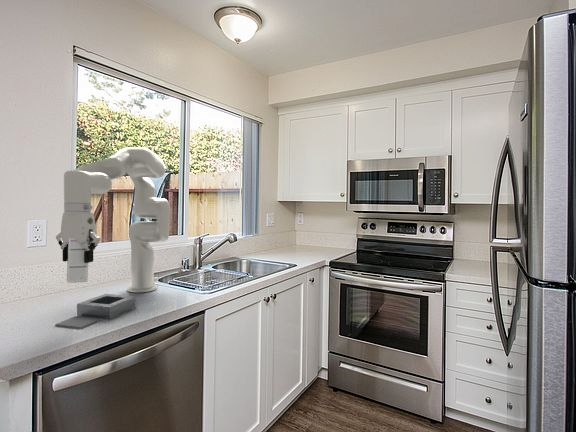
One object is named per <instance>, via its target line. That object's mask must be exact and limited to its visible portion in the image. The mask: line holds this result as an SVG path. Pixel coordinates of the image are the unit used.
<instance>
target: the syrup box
mask: <svg viewBox="0 0 576 432" xmlns="http://www.w3.org/2000/svg"><path fill="white" fill-rule="evenodd" d="M87 241H89V238H87ZM67 244H68V243H67ZM88 246H89V243H88ZM84 251H86V249H85V247H84V245H83V243H77V241H76V239H75V238H70V239H69V244H68V261H67V266H66V282H67V283H68V284H69V283H71V284H72V283H73V284H75V283H87V282H88V278H89V263H84Z"/></svg>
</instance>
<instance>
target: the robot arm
mask: <svg viewBox="0 0 576 432" xmlns="http://www.w3.org/2000/svg"><path fill="white" fill-rule="evenodd" d="M126 174H127V175H128V176H129V177H130V179H131V182H132V183H133V186H134V203H133V204H134V205H133V214H134V215H135V216H136V217H137V218H139V219H148V220H149V219H150V220H151V219H155V220H156V221H150V220H149V221H148V220H147V221H143V220H142V221H140V220H139V221H138V220H137V221H134V222H133V223H131V224H130V225H129V227H128V236H129V240H130V250H131V253H130V254H131V256H130V259H131V260H130V265H131V266H130V267H131V268H130V269H131V270H130V271H131V273H130V277H131V278H130V286H127V292H129V293H135V294H136V293H138V294H139V293H148V292H152V291H154V290H157V289H158V286H157V284H155V282H158V281H159V277H158V276H156V277H154V268H155V267H154V265H155V264H154V262H155V261H154V259H155V258H154V257H155V254H154V253H155V252H154V249H153V247H152V245H151V243H165V242H167V241H168V239H169V238H170V229H171V204H170V202H169V201H168V200H167V199H166V198H161V197H155V195H156V192H155V191H156V188H155V185H154V183H153V181H152V180H151V179H160V178H162V177H164V175H165V174H166V164H165V163H164V161H163V160H162V159H161V158H160V157H159V156H158V155H157V154H156V153H154V151H152V150H150V149H149V148H146V147H124V148H121V149H119V150H118V151H116V152H115V153H113V154H111V155H110V156H108V157H107V158H104V159H100V160H97V161H93V162H89V163H86V164H83V165H80V166H79V167H77V168H75V169H73V170H66V171H64V174H63V213H62V216H61V217H62V218H61V223H60V224H61V225H60V232H59V233H58V234H57V235H56V236H55V239H56V241H57V242H58V245H59V246H60V250H62V262H68V244H69V239H70V238H75V239H76V241H77V243H83V245H84V247H85V249H86V251H84V263H88V264H90V263H92V262H94V251H95V249H96V248H97V246H98V245H99V243H100V241H101V239H102V238H101V237H100V236H99V235H98V234H97V228H96V220H95V215H94V212H92V210H93V205H92V204H91V203H92V195H103V194H107V193H108V192H109V191H110V190H111V189H112V187H113V185H112V184H113V183H112V180H117V179H120V178H122V177H123V176H125V175H126ZM87 238H89V241H87ZM88 243H89V246H88Z"/></svg>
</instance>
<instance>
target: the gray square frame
mask: <svg viewBox="0 0 576 432" xmlns="http://www.w3.org/2000/svg"><path fill="white" fill-rule="evenodd" d="M136 308H137V298H136V296H135V295H125V294H124V295H123V294H121V295H120V294H113V293H111V294H110V293H104V294H101V295H98V296H95V297H92V298H90V299H88V300H84V301H81V302H78V303H76V316H79V317H88V318H97V319H100V320H106V321H107V320H108V321H111V320H113V319H115V318H118V317H119V316H122V315H124V314H126V313H128V312H130V311H133V310H135V309H136Z"/></svg>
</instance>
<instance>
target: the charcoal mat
mask: <svg viewBox="0 0 576 432" xmlns="http://www.w3.org/2000/svg"><path fill="white" fill-rule="evenodd" d="M100 321H101V319H97V318H88V317H79V316H77V315H76V316H75V315H74V316H73V317H70V318H67V319H65V320H62V321H60V322H57V323H55V324H54V326H55V327H60V328H61V327H62V328H68V329H69V328H70V329H77V330H82V329H85V328H87V327H89V326H91V325H93V324H96V323H98V322H100Z"/></svg>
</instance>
